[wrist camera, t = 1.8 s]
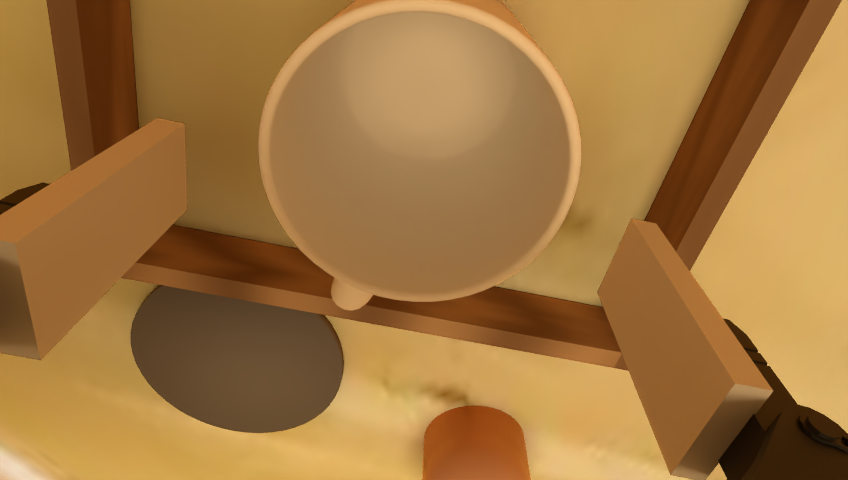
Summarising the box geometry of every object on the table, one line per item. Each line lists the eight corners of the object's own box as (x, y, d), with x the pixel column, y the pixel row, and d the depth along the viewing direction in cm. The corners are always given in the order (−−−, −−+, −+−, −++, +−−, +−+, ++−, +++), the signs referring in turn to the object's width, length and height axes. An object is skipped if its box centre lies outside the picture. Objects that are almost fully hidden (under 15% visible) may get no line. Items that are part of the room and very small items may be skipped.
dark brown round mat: (143, 407, 33) (138, 414, 33) (128, 249, 27) (121, 255, 27) (331, 438, 34) (329, 446, 34) (357, 292, 28) (355, 298, 28)
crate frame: (126, 232, 27) (86, 271, 24) (83, -221, 18) (9, -251, 15) (613, 325, 29) (633, 371, 26) (798, -42, 20) (862, -37, 17)
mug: (437, 254, 27) (433, 415, 18) (281, 190, 25) (193, 331, 16) (565, 27, 21) (652, 97, 12) (375, -73, 20) (318, -76, 11)
